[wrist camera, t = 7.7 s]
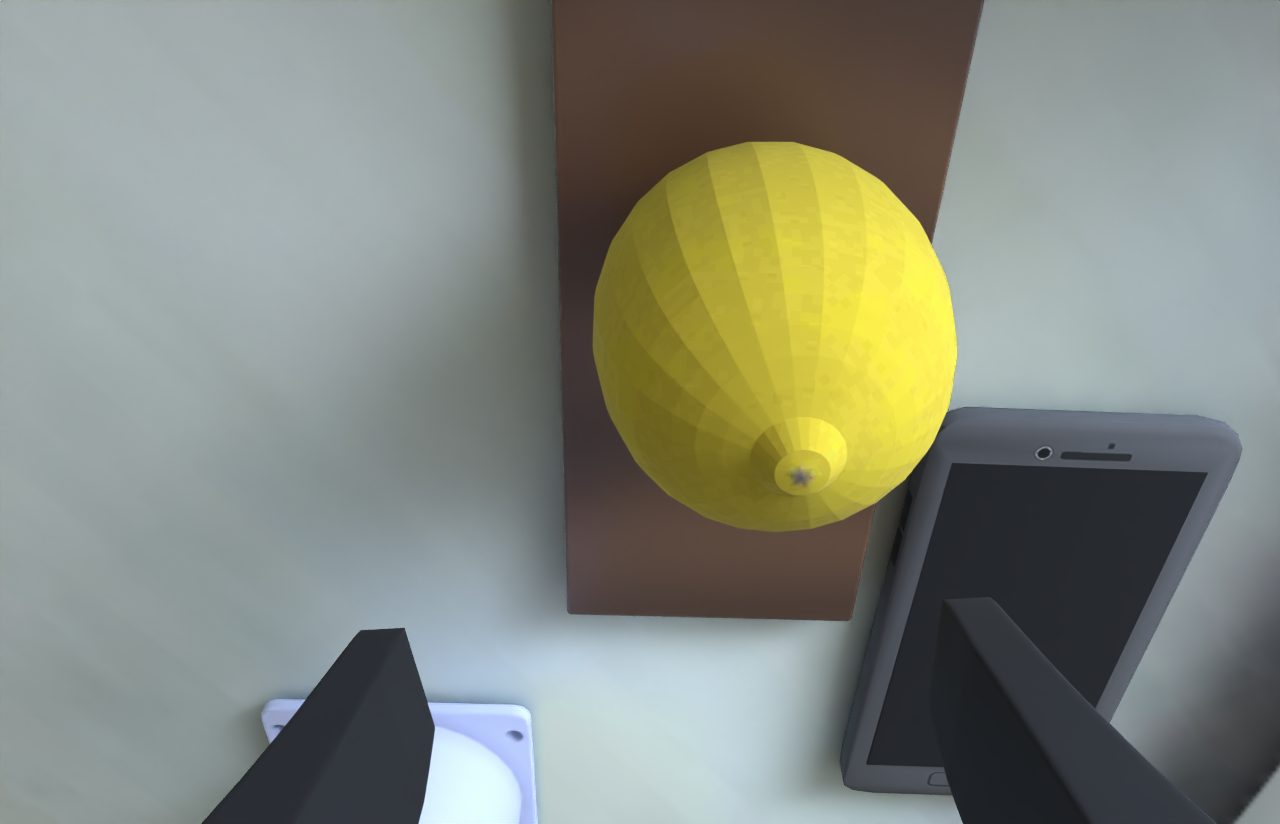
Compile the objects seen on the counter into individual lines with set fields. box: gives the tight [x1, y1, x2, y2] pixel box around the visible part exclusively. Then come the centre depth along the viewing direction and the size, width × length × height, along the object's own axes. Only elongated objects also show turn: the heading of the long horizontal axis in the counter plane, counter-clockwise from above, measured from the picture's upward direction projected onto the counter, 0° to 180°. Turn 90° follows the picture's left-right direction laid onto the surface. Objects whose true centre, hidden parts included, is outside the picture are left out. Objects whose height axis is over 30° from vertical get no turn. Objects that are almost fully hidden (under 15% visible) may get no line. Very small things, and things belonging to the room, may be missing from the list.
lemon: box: [593, 142, 957, 532], centre depth 14 cm, size 6×6×8 cm
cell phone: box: [840, 407, 1242, 795], centre depth 24 cm, size 7×14×1 cm, turn 178°
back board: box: [551, 0, 984, 621], centre depth 18 cm, size 20×8×1 cm, turn 179°
